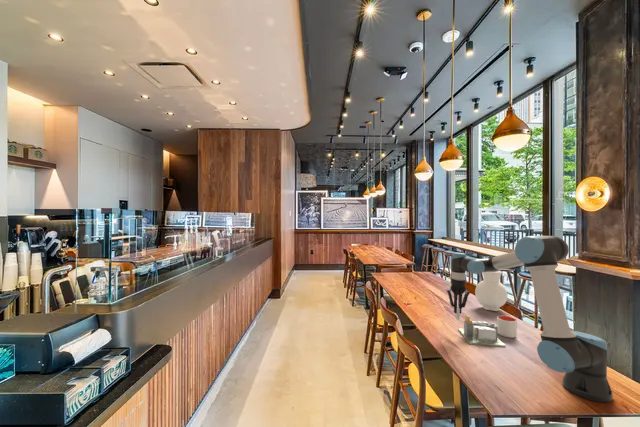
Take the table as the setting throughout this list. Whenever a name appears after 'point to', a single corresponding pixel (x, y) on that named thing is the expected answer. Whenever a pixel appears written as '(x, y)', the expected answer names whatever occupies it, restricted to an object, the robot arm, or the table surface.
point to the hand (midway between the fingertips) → (457, 318)
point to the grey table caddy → (481, 334)
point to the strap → (483, 325)
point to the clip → (468, 319)
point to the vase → (491, 291)
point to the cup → (507, 326)
